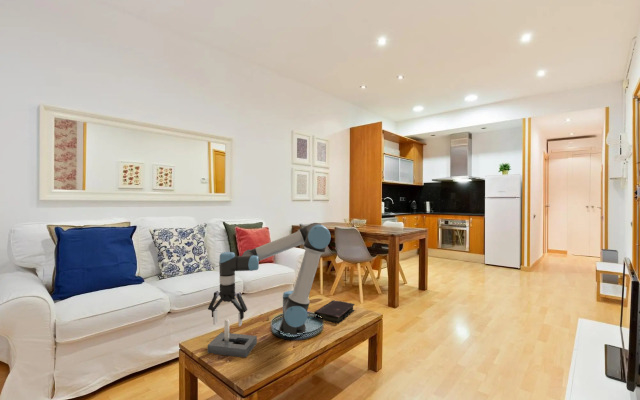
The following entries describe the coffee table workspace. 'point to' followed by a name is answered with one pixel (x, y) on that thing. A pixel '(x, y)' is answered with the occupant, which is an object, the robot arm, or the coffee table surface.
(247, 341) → the keyhole plate
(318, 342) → the coffee table surface
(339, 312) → the diary
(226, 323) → the peg
